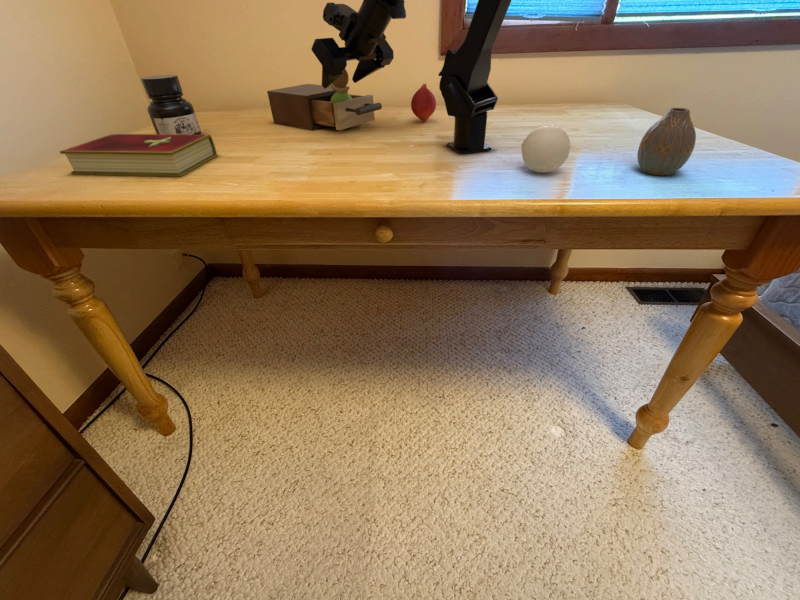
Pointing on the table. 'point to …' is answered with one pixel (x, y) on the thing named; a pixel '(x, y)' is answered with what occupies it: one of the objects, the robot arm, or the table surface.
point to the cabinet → (296, 105)
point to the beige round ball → (545, 149)
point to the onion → (423, 103)
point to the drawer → (344, 111)
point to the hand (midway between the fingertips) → (339, 83)
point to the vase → (667, 143)
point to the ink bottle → (169, 106)
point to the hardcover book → (141, 154)
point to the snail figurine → (341, 88)
